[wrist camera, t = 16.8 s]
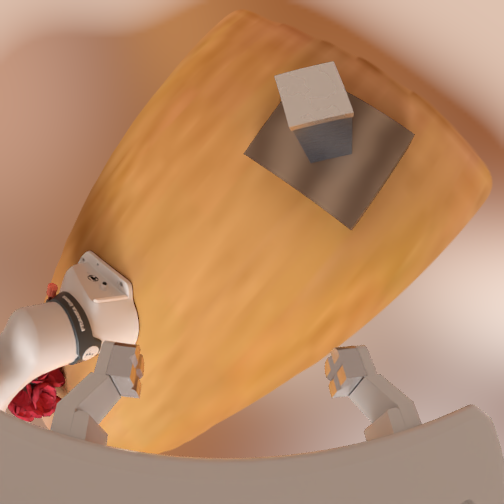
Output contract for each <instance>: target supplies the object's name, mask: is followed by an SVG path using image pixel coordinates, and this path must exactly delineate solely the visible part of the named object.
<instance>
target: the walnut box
mask: <svg viewBox="0 0 504 504" xmlns="http://www.w3.org/2000/svg"><path fill="white" fill-rule="evenodd" d="M346 93H347V95H348V98H349V101H350V104H351V106H352V109H353V112H354V117H352V154H350V155H345V156H340V157H336V158H331V159H327V160H322V161H318V162H314V163H310V161H309V159H308V157H307V156H306V154H305V152H304V150H303V148H302V146H301V145H300V143H299V141H298V139H297V137H296V136H295V134H294V132H293V131H291V130H290V128H289V126H288V122H287V118H286V115H285V111H284V107H283V104H282V101H281V102H280V104H279V105H278V106H277V108H276V109H275V111H274V112H273V113H272V115H271V116H270V117H269V119H268V120H267V122H266V123H265V124H264V126H263V127H262V128H261V130H260V131H259V133H258V134H257V136H256V137H255V138H254V140H253V141H252V143H251V144H250V145H249V147H248V148H247V150H246V151H245V153H244V154H245V155H246V156H248V157H249V158H251V159H252V160H254V161H255V162H257V163H258V164H260V165H261V166H263V167H264V168H266V169H267V170H269V171H270V172H272V173H273V174H275V175H276V176H278V177H279V178H281V179H282V180H284V181H285V182H286V183H288V184H289V185H291V186H292V187H294V188H295V189H296V190H298V191H299V192H301V193H302V194H303V195H305V196H306V197H308V198H309V199H310V200H312V201H313V202H315V203H316V204H317V205H319V206H320V207H321V208H323V209H324V210H325V211H327V212H328V213H329V214H331V215H332V216H333V217H335V218H336V219H337V220H339V221H340V222H341V223H343V224H344V225H345V226H346V227H348V228H349V229H350V230H352V229H353V228H354V226H355V225H356V224H357V222H358V221H359V220H360V218H361V217H362V215H363V214H364V213H365V211H366V210H367V208H368V207H369V205H370V204H371V203H372V201H373V200H374V198H375V197H376V195H377V194H378V193H379V191H380V190H381V188H382V187H383V185H384V184H385V182H386V181H387V179H388V178H389V176H390V175H391V173H392V172H393V170H394V169H395V167H396V166H397V164H398V163H399V161H400V160H401V158H402V157H403V155H404V153H405V152H406V150H407V149H408V147H409V145H410V143H411V141H412V139H413V137H414V135H415V134H413V133H412V132H410V131H409V130H408V129H406V128H405V127H403V126H402V125H400V124H399V123H397V122H396V121H394V120H393V119H391V118H390V117H388V116H387V115H385V114H384V113H382V112H380V111H379V110H377V109H376V108H374V107H372V106H371V105H369V104H367V103H366V102H364V101H362V100H360V99H359V98H357V97H355V96H353V95H352V94H350V93H348V92H346Z"/></svg>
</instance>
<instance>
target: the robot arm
mask: <svg viewBox="0 0 504 504" xmlns="http://www.w3.org/2000/svg"><path fill="white" fill-rule="evenodd" d="M122 284H123V285H122ZM57 289H58V287H57V285H56V284H53V283H50V284H49V285H48V290H47V295H48V296H49V297H48V299H47V301H46V303H43V304H38V305H33V306H27V307H22V308H19V309H17V310H16V311H14V312H13V313H12V315H11V316H10V318H9V320H8V322H7V324H6V327H5V329H4V330H3V332H2V333H1V334H0V504H504V458H503V454H502V450H501V446H500V442H499V439H498V435H497V432H496V429H495V426H494V424H493V422H492V420H491V418H490V417H489V416H488V415H487V414H486V413H485V412H483V411H482V410H481V409H479V408H478V407H476V406H475V405H467V406H465V407H463V408H461V409H458V410H456V411H454V412H452V413H450V414H447V415H445V416H442V417H440V418H438V419H435V420H432V421H430V422H427V423H424V424H421V421H420V418H419V415H418V413H417V410H416V407H415V405H414V402H413V401H412V400H411V399H409V398H408V397H407V396H406V395H405V394H403V393H402V392H401V391H400V390H399V389H397V388H396V387H395V386H394V385H393V384H391V383H390V382H389V381H388V380H387V379H386V378H384V377H383V376H382V375H381V374H377V372H376V369H375V366H374V364H373V362H372V359H371V356H370V354H369V351H368V349H367V347H366V346H365V345H360V346H348V347H337V348H334V349H332V351H331V355H332V356H330V357H328V358H327V360H326V362H325V374H326V377H327V378H328V379H329V380H330V384H329V389H330V393H331V397H332V398H337V397H345V396H349V398H350V399H351V401H352V402H353V403H354V404H355V405H356V406H357V407H358V408H359V409H360V410H361V411H362V413H363V414H364V415H365V416H366V417H367V418H368V419H369V420H370V421H371V422H372V424H371V425H370V426H368V427H367V428H366V429H365V431H364V434H365V437H366V441H365V442H361V443H357V444H352V445H348V446H343V447H338V448H333V449H328V450H321V451H315V452H308V453H301V454H292V455H283V456H271V457H255V458H196V457H181V456H170V455H160V454H152V453H145V452H138V451H132V450H126V449H121V448H116V447H111V446H106V444H107V436H108V435H107V433H106V432H105V431H104V430H103V429H102V428H101V427H100V426H99V425H98V424H99V423H100V422H101V421H102V419H103V418H104V417H105V416H106V415H107V413H108V412H109V411H110V410H111V409H112V407H113V406H114V405H115V404H116V403H117V401H118V400H119V399H120V398H121V396H125V397H134V398H140V391H141V382H140V380H139V379H140V378H141V377H142V376H143V372H144V359H143V356H142V355H141V354H140V350H141V349H140V347H139V345H136V344H135V343H136V341H137V338H138V333H139V322H138V316H137V312H136V308H135V305H134V302H133V291H132V285H131V283H130V281H128V280H127V279H126V278H125V277H123V276H122V275H121V274H119V273H118V272H117V271H116V270H114V269H113V268H112V267H111V266H109V265H108V264H107V263H105V262H104V261H103V260H102V259H101V258H99V257H98V256H97V255H96V254H94V253H93V252H92V251H87V252H85V253H84V254H83V255H82V257H81V258H80V260H79V262H78V264H76V265H73V266H71V267H70V268H69V269H68V270H67V272H66V274H65V276H64V279H63V282H62V285H61V289H60V293H59V294H58V295H56V291H57ZM53 297H54V298H53ZM97 354H99V357H98V360H97V364H96V367H95V371H94V373H93V372H91V373H90V374H89V375H87V376H86V377H85V378H84V379H83V380H82V381H81V382H80V383H79V384H78V385H77V386H75V387H74V388H73V389H72V390H71V391H70V392H69V393H68V394H67V395H66V396H65V397H63V398H62V399H61V400H60V401H59V402H58V403H57V405H56V409H55V413H54V417H53V421H52V425H51V430H49V429H46V428H43V427H40V426H37V425H35V424H32V423H29V422H27V421H24V420H22V419H20V418H17V417H15V416H12V415H10V414H8V413H6V412H5V411H6V409H7V407H8V405H9V403H10V402H11V401H12V399H13V398H14V397H15V396H16V395H17V394H18V393H19V392H20V391H21V390H22V389H23V388H24V387H25V386H26V385H27V384H28V383H30V382H31V381H32V380H34V379H35V378H37V377H39V376H41V375H43V374H45V373H47V372H50V371H52V370H54V369H57V368H59V367H62V366H64V365H67V364H69V365H74V364H77V363H80V362H82V361H85V360H88V359H90V358H92V357H94V356H96V355H97Z"/></svg>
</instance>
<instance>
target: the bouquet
mask: <svg viewBox="0 0 504 504" xmlns="http://www.w3.org/2000/svg"><path fill="white" fill-rule="evenodd" d="M41 382H42V383H41ZM64 383H65V378H64V377H63V375H62V373H61V371H60V369H59V368H57V369H54V370H52V371H50V372H47V373H45V374H43V375H41V376H39V377H37V378H35V379H34V380H32V381H31V382H30V383H28V384H27V385H26V386H25V387H24V388H23V389H22V390H21V391H20V392H19V393H18V394H17V395H16V396H15V397H14V398H13V399H12V401H11V402H10V403H9V405H8V409H9V410H10V411H11V413H12V414H14V415H15V416H16V417H17V418H20V419H22V420H24V421H27V422H28V421H30V422H31V421H33V420H34V417H35V418H42V416H43V417H46V416H51V414H52V413H54V412H55V409H56V405H57V403H58V402H59V401H60V400H61V398H60V397H58V396H56V389H55V387H61V386H63V385H64Z"/></svg>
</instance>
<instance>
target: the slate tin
mask: <svg viewBox="0 0 504 504" xmlns="http://www.w3.org/2000/svg"><path fill="white" fill-rule="evenodd" d="M274 77H275V80H276V83H277V87H278V90H279V94H280V97H281V100H282V104H283V107H284V111H285V115H286V118H287V122H288V126H289V128H290V130H291V131H293V132H294V134H295V136H296V137H297V139H298V141H299V143H300V145H301V146H302V148H303V150H304V152H305V154H306V156H307V157H308V159H309V161H310V163H314V162H318V161H322V160H327V159H331V158H336V157H340V156H345V155H350V154H352V117H354V112H353V109H352V106H351V104H350V101H349V98H348V95H347V93H346V90H345V88H344V85H343V83H342V80H341V78H340V75H339V73H338V70H337V68H336V66H335V63H334V61H332V62H327V63H323V64H318V65H314V66H310V67H306V68H301V69H298V70H294V71H290V72H286V73H283V74H279V75H276V76H274Z"/></svg>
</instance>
